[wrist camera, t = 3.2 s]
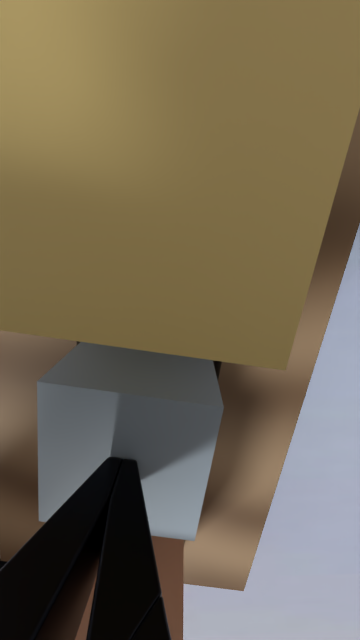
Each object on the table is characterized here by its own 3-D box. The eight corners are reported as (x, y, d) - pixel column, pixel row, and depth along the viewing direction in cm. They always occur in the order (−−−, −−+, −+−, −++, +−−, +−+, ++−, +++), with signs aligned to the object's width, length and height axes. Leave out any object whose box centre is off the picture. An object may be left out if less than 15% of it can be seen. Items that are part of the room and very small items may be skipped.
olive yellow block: (224, 294, 9) (285, 370, 4) (86, 274, 9) (-77, 319, 3) (254, 136, 8) (434, -154, 2) (93, 110, 8) (-157, -258, 2)
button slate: (190, 420, 14) (194, 541, 8) (99, 407, 14) (38, 521, 8) (206, 334, 13) (223, 407, 7) (105, 319, 13) (37, 381, 7)
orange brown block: (170, 574, 13) (158, 821, 8) (74, 563, 13) (-10, 803, 8) (184, 502, 12) (182, 736, 6) (77, 488, 12) (-22, 712, 6)
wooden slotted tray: (235, 544, 17) (243, 591, 15) (25, 517, 17) (0, 560, 15) (352, 129, 11) (399, 96, 8) (11, 75, 10) (-38, 26, 8)
